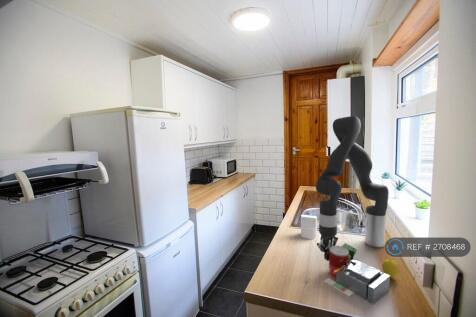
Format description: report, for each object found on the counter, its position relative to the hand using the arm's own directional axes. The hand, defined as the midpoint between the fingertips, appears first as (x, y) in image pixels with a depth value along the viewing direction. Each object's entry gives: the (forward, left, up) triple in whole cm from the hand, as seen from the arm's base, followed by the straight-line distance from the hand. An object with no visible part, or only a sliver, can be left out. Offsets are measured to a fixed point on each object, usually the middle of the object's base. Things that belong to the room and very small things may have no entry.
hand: (327, 259), depth 105 cm
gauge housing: (0, +16, -4) cm, 16 cm away
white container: (-20, -26, -4) cm, 33 cm away
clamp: (-13, +1, -4) cm, 13 cm away
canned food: (0, +6, -4) cm, 7 cm away
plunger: (+3, +13, -4) cm, 14 cm away
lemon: (-15, +20, -4) cm, 25 cm away
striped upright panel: (+8, +10, -4) cm, 14 cm away
